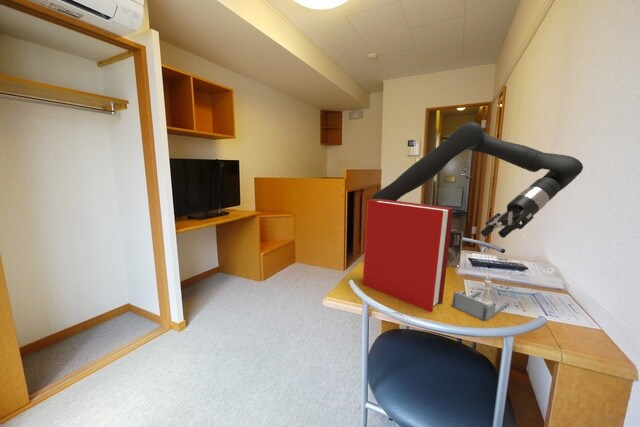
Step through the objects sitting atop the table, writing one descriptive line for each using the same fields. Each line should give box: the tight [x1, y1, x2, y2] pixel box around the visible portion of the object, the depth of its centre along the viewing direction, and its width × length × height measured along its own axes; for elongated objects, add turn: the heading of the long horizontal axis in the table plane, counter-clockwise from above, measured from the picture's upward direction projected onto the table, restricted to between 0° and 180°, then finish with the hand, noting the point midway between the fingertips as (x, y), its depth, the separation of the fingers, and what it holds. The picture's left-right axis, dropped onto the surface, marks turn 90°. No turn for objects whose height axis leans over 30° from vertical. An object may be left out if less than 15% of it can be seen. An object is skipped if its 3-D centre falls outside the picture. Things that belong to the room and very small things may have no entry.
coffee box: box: [447, 228, 464, 268], centre depth 126 cm, size 9×6×16 cm
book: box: [362, 198, 454, 313], centre depth 93 cm, size 27×8×32 cm, turn 45°
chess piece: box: [476, 274, 493, 305], centre depth 89 cm, size 5×5×10 cm
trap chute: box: [451, 290, 511, 322], centre depth 88 cm, size 10×17×5 cm, turn 124°
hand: (491, 235), depth 87 cm, fingers open, 8 cm apart
